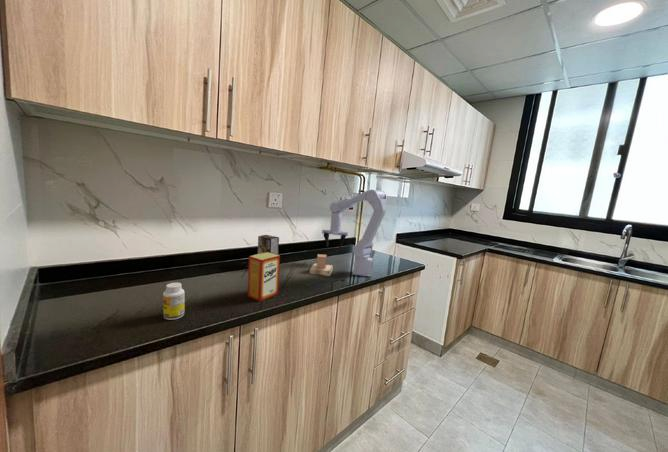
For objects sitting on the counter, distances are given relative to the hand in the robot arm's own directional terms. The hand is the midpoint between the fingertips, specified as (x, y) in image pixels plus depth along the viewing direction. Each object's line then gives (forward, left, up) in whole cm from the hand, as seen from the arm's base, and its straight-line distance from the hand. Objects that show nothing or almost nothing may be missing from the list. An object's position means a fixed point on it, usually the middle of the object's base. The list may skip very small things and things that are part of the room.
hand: (333, 247), depth 146 cm
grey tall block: (+31, +18, -10) cm, 38 cm away
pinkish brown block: (+4, +15, -8) cm, 17 cm away
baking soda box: (+19, +51, -10) cm, 56 cm away
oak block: (+3, +15, -11) cm, 19 cm away
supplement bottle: (+38, +74, -10) cm, 84 cm away
